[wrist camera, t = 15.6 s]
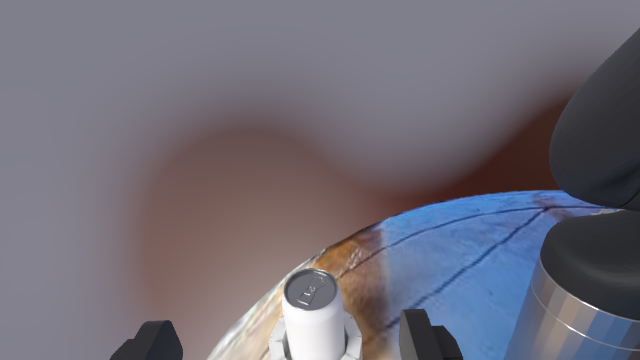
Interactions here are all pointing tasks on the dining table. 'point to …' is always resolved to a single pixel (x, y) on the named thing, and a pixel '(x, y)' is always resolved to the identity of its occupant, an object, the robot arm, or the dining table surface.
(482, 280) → the dining table surface
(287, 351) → the holder
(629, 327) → the robot arm
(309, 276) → the can
